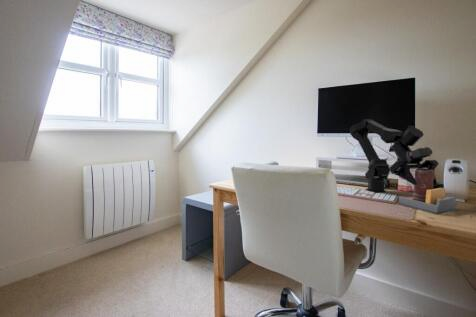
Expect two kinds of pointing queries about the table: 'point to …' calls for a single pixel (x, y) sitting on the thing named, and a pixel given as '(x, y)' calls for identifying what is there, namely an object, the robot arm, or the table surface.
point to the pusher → (434, 195)
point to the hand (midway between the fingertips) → (425, 183)
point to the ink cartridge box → (406, 183)
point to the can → (423, 183)
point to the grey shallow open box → (431, 205)
